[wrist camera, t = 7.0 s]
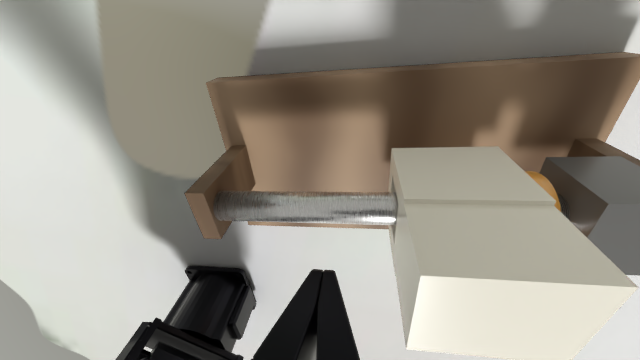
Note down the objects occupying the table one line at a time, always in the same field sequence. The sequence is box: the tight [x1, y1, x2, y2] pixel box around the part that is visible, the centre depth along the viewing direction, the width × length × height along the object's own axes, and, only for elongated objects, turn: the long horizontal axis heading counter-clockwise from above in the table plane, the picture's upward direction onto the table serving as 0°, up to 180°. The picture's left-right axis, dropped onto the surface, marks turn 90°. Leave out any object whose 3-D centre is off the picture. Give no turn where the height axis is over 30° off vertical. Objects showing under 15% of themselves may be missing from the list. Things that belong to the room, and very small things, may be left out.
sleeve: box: [388, 146, 639, 360], centre depth 11 cm, size 5×4×8 cm
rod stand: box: [184, 52, 640, 275], centre depth 14 cm, size 22×11×8 cm, turn 95°
